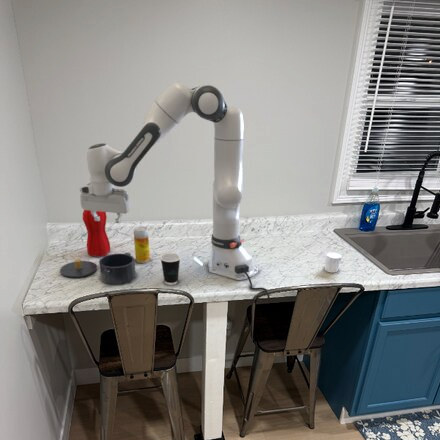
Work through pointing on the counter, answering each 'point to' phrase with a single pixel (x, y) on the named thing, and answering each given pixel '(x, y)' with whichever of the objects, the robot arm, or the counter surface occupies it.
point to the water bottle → (96, 234)
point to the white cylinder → (332, 262)
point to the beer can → (141, 244)
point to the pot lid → (78, 268)
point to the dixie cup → (170, 267)
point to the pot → (117, 269)
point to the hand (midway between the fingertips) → (107, 221)
